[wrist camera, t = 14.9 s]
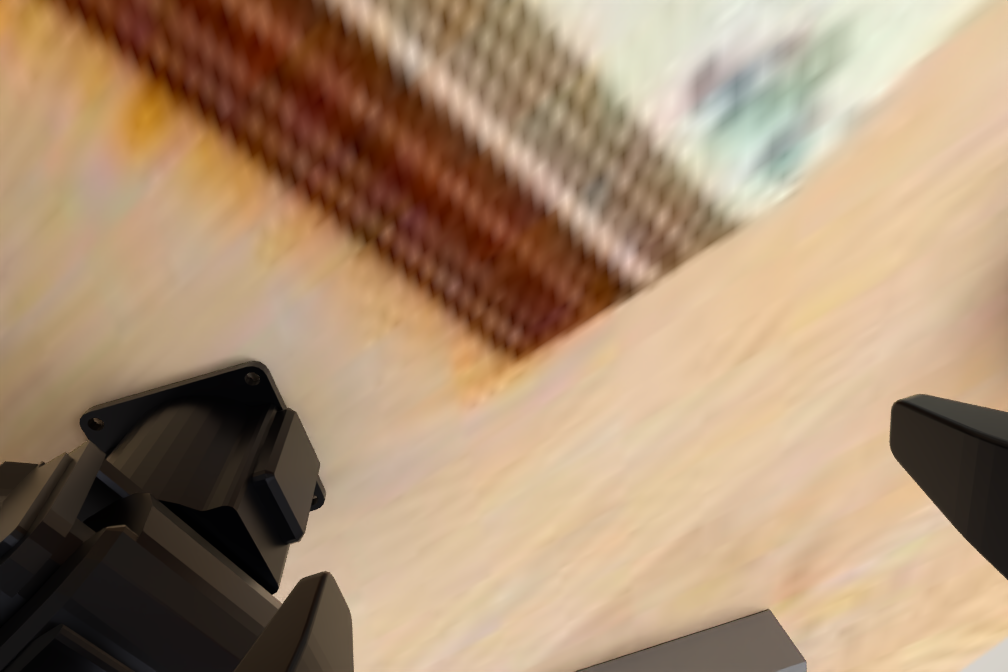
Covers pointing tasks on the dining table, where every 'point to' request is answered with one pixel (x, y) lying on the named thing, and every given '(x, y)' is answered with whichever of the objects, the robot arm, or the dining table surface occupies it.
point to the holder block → (719, 651)
